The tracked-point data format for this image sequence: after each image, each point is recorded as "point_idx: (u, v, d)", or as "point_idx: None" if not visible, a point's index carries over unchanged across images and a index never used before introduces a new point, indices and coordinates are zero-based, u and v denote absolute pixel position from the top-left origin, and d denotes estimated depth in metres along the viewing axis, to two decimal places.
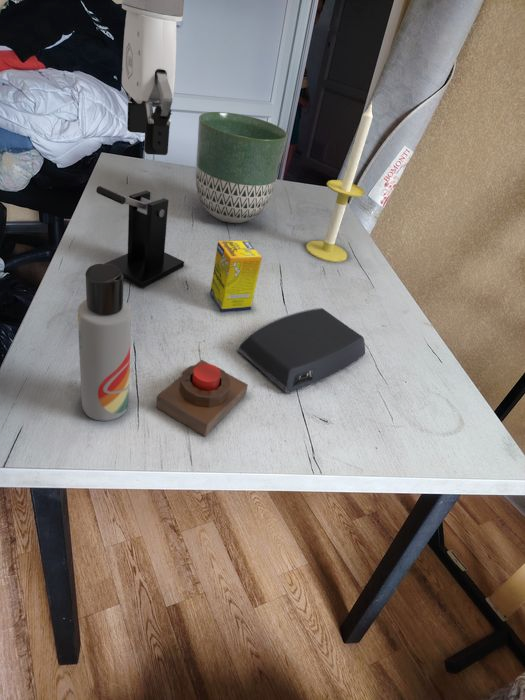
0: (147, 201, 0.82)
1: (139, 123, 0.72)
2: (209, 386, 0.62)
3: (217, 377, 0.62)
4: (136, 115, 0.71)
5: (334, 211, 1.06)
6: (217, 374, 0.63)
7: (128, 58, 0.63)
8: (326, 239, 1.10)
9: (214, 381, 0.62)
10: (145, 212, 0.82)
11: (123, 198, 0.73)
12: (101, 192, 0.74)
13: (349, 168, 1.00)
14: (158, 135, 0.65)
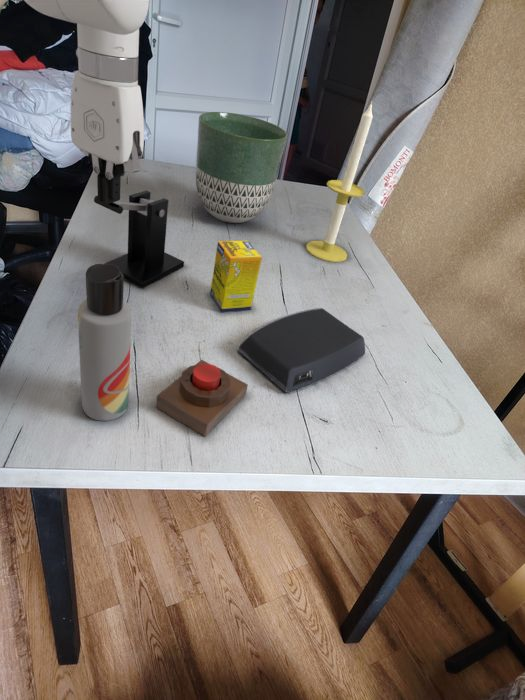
0: (146, 202, 0.82)
1: None
2: (209, 386, 0.62)
3: (217, 377, 0.62)
4: None
5: (334, 211, 1.06)
6: (217, 374, 0.63)
7: (92, 122, 0.65)
8: (326, 239, 1.10)
9: (214, 381, 0.62)
10: (145, 213, 0.82)
11: (120, 208, 0.74)
12: (99, 202, 0.75)
13: (349, 168, 1.00)
14: (116, 186, 0.72)
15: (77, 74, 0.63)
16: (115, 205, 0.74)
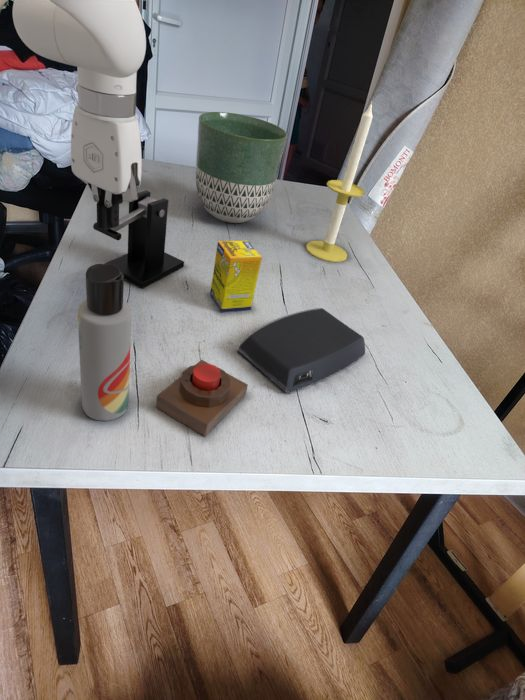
0: (144, 206, 0.82)
1: None
2: (209, 386, 0.62)
3: (217, 377, 0.62)
4: None
5: (334, 211, 1.06)
6: (217, 374, 0.63)
7: (92, 155, 0.68)
8: (326, 239, 1.10)
9: (214, 381, 0.62)
10: (146, 216, 0.83)
11: (118, 235, 0.76)
12: (98, 230, 0.77)
13: (349, 168, 1.00)
14: (114, 214, 0.75)
15: (77, 109, 0.66)
16: (113, 233, 0.76)
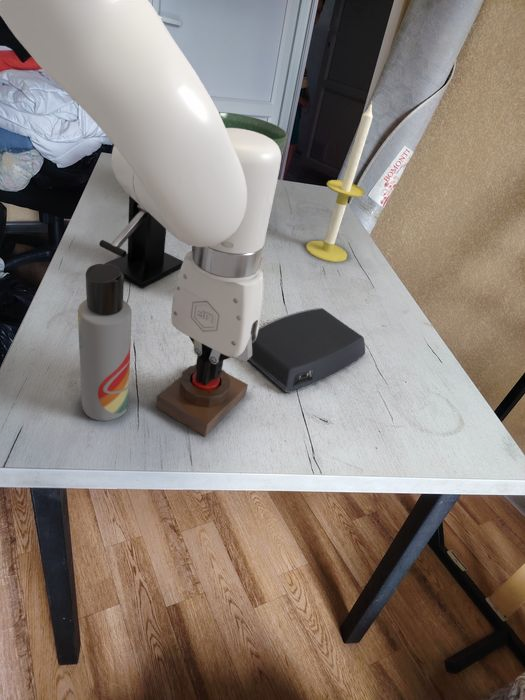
0: (143, 210, 0.82)
1: None
2: None
3: (216, 383, 0.63)
4: None
5: (334, 211, 1.06)
6: (216, 380, 0.63)
7: (203, 313, 0.54)
8: (326, 239, 1.10)
9: (213, 387, 0.62)
10: None
11: (123, 253, 0.79)
12: (105, 248, 0.81)
13: (349, 168, 1.00)
14: (219, 367, 0.61)
15: (189, 261, 0.52)
16: (118, 252, 0.79)
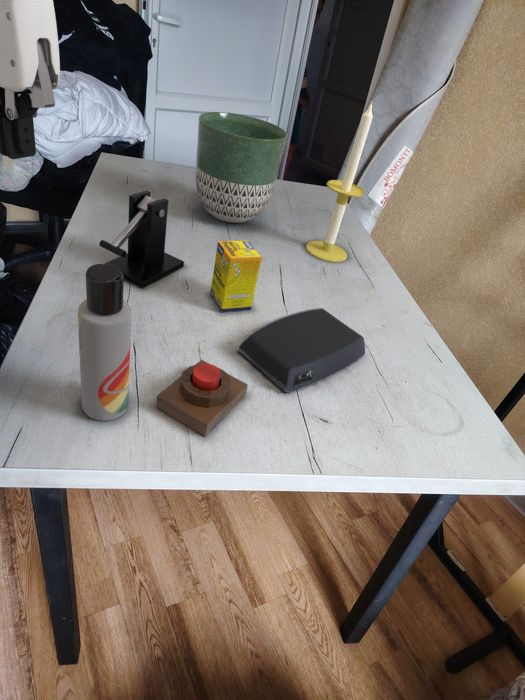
0: (143, 210, 0.82)
1: None
2: (209, 386, 0.62)
3: (217, 377, 0.62)
4: None
5: (334, 211, 1.06)
6: (217, 374, 0.63)
7: None
8: (326, 239, 1.10)
9: (214, 381, 0.62)
10: None
11: (123, 253, 0.79)
12: (105, 248, 0.81)
13: (349, 168, 1.00)
14: (25, 132, 0.49)
15: None
16: (118, 252, 0.79)
